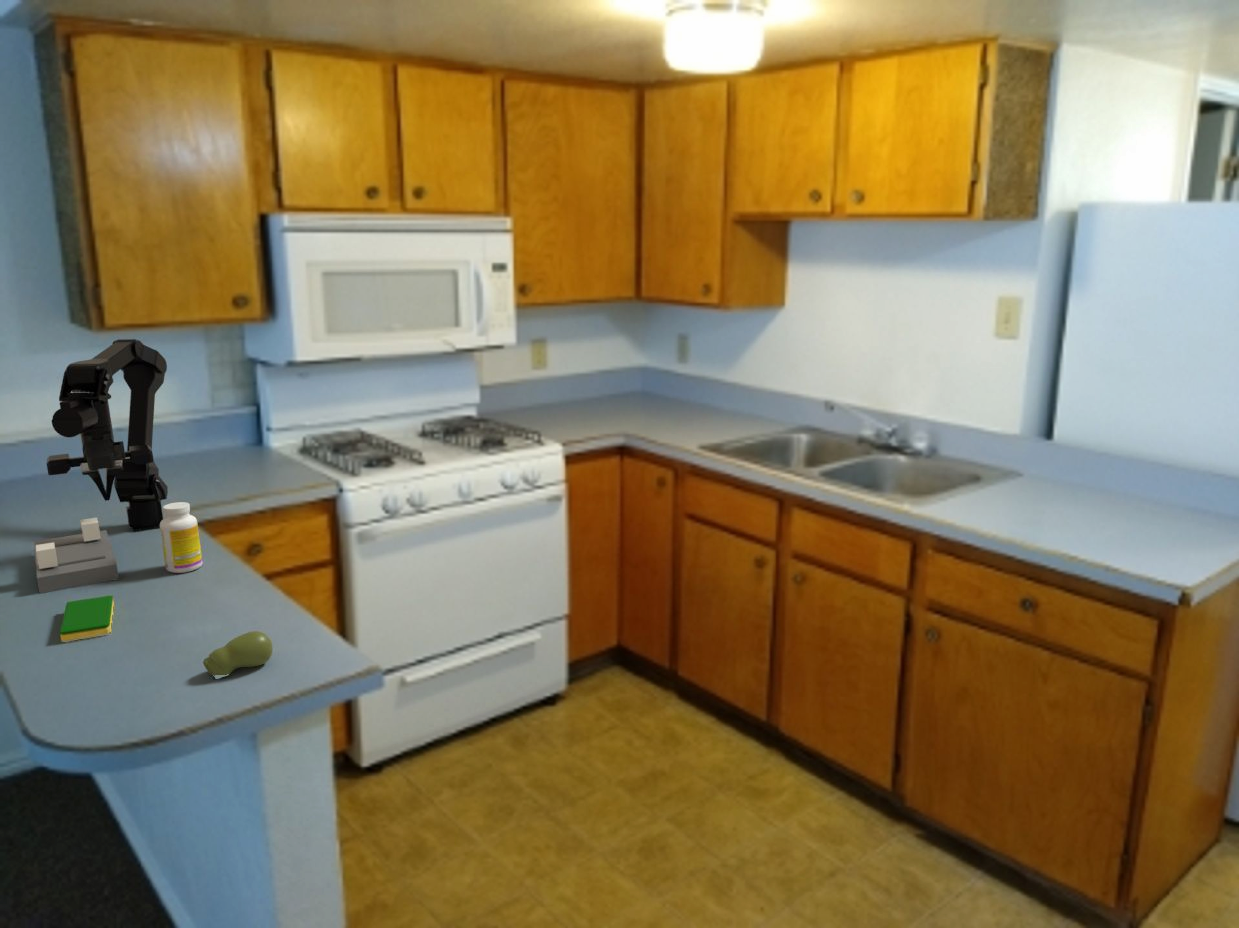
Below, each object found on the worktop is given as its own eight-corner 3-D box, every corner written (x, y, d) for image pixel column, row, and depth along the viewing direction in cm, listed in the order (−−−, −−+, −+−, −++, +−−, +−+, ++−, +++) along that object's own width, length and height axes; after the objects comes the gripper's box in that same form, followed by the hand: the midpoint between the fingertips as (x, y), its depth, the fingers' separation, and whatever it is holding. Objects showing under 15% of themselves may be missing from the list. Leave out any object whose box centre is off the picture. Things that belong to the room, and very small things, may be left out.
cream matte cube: (99, 533, 196) (96, 517, 195) (100, 538, 193) (98, 522, 192) (82, 536, 195) (80, 519, 194) (84, 541, 191) (81, 525, 190)
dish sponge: (61, 645, 154) (59, 631, 153) (69, 614, 166) (66, 601, 165) (111, 637, 157) (109, 624, 156) (114, 607, 169) (112, 594, 168)
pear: (272, 633, 144) (204, 661, 138) (281, 663, 146) (215, 692, 140) (260, 620, 148) (195, 647, 143) (270, 650, 150) (205, 677, 145)
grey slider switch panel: (108, 543, 201) (106, 529, 200) (118, 578, 181) (116, 563, 180) (36, 555, 194) (34, 540, 193) (39, 593, 174) (36, 577, 173)
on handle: (56, 559, 181) (54, 542, 180) (57, 565, 178) (54, 548, 177) (38, 562, 180) (35, 545, 179) (39, 569, 176) (36, 551, 176)
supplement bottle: (210, 565, 188) (202, 502, 185) (182, 576, 182) (174, 512, 179) (186, 560, 191) (178, 498, 187) (158, 571, 185) (149, 508, 181)
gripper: (40, 439, 179) (54, 518, 183) (150, 427, 187) (161, 503, 192) (41, 428, 188) (54, 503, 192) (145, 417, 197) (156, 489, 201)
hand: (107, 500), depth 194 cm, fingers closed
